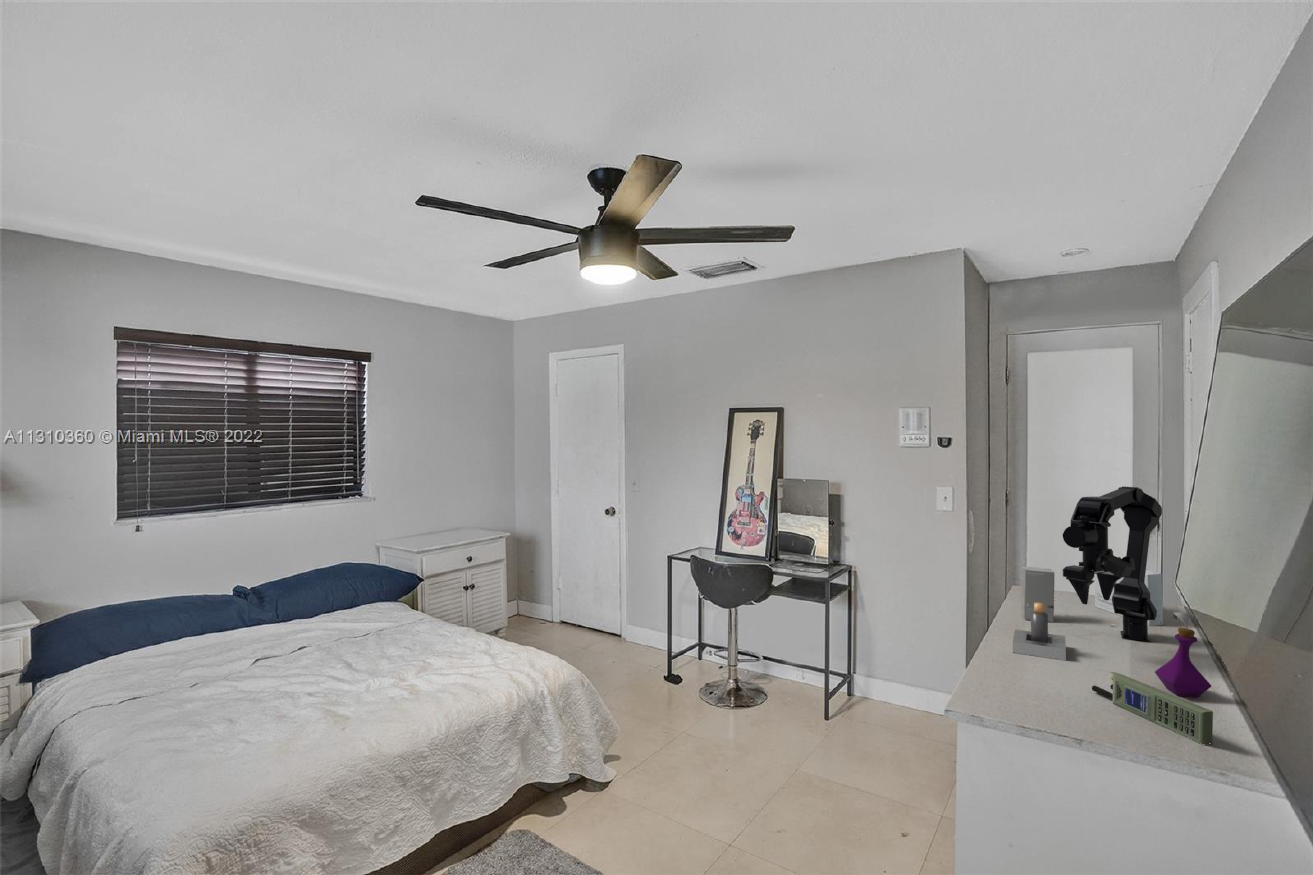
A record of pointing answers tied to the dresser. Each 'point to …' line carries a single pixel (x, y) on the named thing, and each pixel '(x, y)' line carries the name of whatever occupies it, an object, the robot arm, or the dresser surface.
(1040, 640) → the plug
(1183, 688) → the perfume bottle
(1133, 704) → the handheld radio
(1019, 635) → the socket plate
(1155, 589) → the skincare box
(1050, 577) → the skincare box
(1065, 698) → the dresser surface
